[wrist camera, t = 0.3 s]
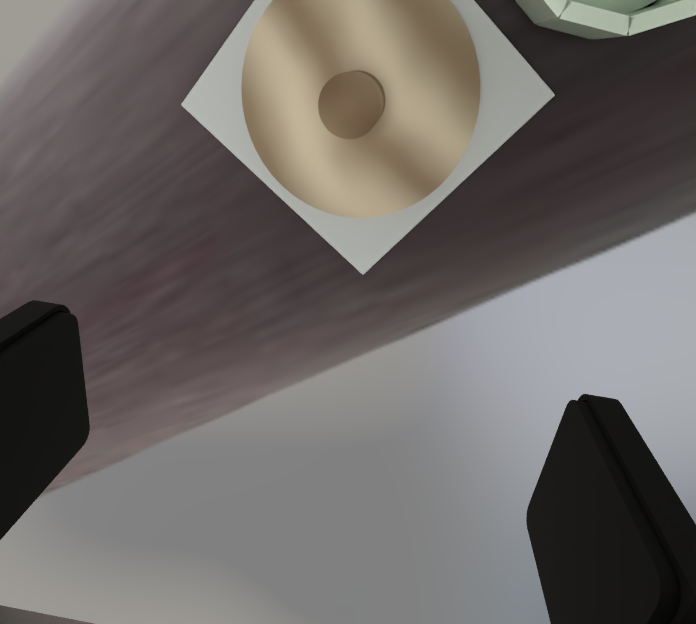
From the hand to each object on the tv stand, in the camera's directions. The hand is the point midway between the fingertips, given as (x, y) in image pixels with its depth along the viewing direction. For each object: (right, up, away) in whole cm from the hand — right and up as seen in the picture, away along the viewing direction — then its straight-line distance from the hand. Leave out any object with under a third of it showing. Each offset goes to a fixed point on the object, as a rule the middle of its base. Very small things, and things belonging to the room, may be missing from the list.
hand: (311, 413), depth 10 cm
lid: (+1, +15, +23) cm, 28 cm away
